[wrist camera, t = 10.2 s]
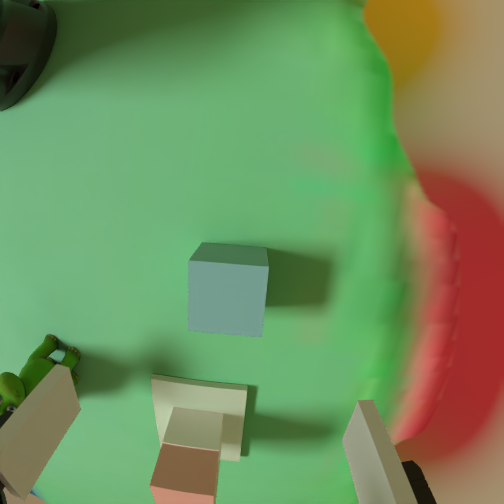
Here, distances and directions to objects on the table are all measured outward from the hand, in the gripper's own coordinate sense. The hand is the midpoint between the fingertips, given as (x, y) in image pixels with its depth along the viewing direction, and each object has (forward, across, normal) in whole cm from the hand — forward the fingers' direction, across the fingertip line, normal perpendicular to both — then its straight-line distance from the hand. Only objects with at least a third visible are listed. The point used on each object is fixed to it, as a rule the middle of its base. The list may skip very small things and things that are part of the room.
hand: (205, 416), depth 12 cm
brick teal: (+18, 0, 0) cm, 18 cm away
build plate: (+18, -3, -20) cm, 27 cm away
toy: (+18, -22, -15) cm, 32 cm away
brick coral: (+11, -3, -20) cm, 23 cm away
